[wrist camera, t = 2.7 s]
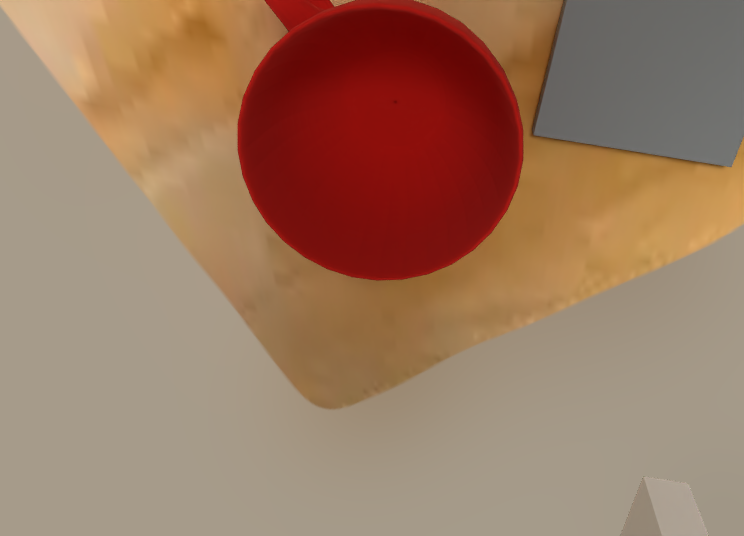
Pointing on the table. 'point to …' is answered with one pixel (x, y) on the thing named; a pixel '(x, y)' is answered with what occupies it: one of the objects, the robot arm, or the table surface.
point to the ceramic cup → (379, 137)
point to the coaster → (648, 78)
